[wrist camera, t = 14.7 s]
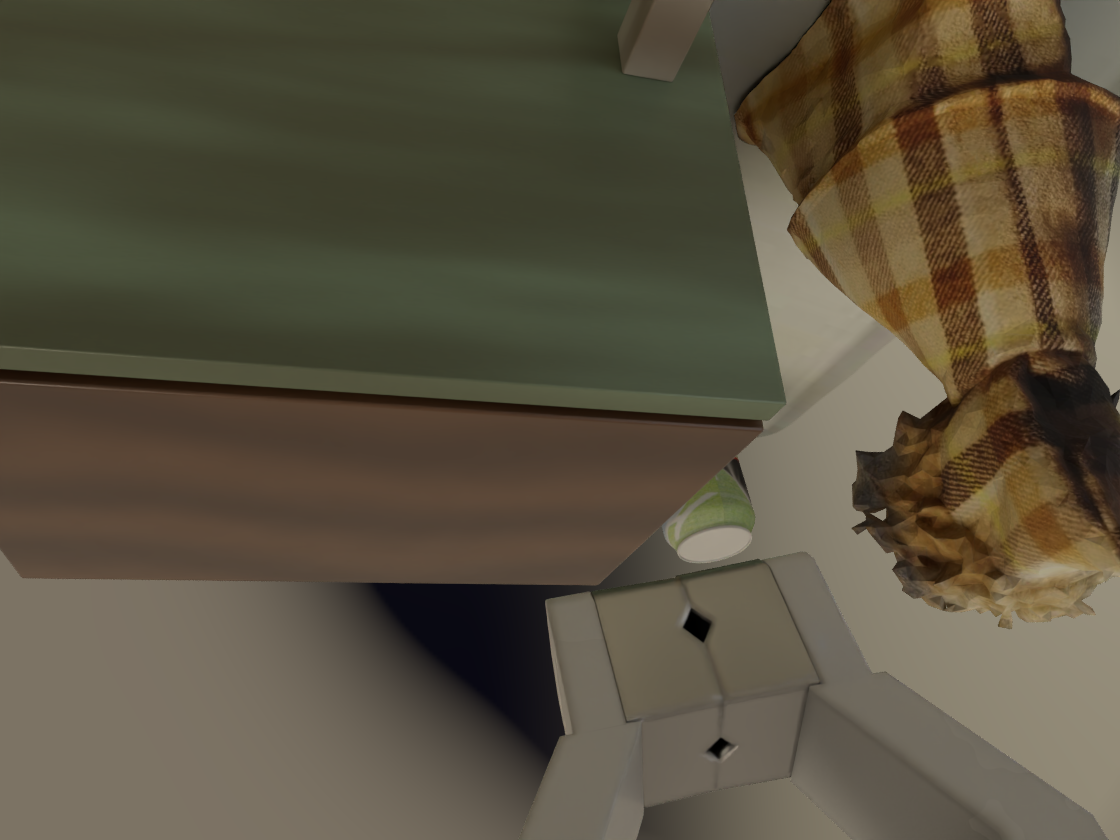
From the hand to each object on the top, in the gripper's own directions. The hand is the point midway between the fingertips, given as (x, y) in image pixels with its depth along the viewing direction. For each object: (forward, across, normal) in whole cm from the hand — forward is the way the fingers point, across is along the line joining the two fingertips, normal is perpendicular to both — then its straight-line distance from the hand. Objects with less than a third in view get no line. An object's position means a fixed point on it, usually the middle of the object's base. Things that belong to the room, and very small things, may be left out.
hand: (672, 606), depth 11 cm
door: (+27, +1, -6) cm, 28 cm away
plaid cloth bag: (+30, -19, +7) cm, 36 cm away
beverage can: (+42, -13, +34) cm, 56 cm away
